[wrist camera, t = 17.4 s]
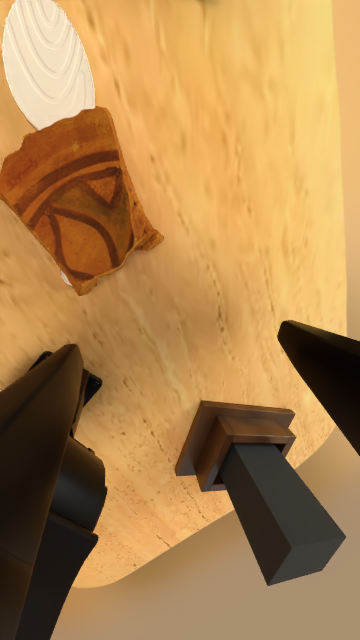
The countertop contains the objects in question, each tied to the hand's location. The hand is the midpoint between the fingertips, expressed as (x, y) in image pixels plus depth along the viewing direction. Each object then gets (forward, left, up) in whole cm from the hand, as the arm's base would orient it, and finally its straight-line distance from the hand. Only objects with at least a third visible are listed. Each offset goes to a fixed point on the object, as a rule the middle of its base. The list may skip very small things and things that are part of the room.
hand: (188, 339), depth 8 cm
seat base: (-9, -24, -12) cm, 28 cm away
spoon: (+3, +11, -12) cm, 17 cm away
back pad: (-9, -24, -11) cm, 28 cm away
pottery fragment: (+2, +8, -12) cm, 15 cm away
